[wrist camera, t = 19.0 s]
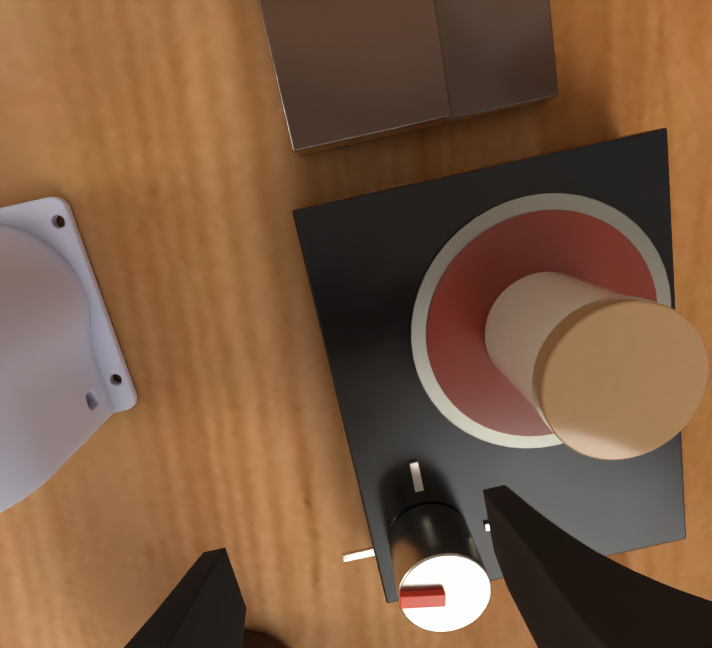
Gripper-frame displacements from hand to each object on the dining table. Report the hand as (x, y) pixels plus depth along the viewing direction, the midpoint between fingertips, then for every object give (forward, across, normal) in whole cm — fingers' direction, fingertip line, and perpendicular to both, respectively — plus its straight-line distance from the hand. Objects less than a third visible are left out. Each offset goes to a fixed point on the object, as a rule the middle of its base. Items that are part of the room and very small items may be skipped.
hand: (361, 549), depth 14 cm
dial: (+7, -2, +6) cm, 10 cm away
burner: (+7, -8, -2) cm, 11 cm away
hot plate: (+10, -7, 0) cm, 12 cm away
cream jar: (+7, -8, -2) cm, 11 cm away
